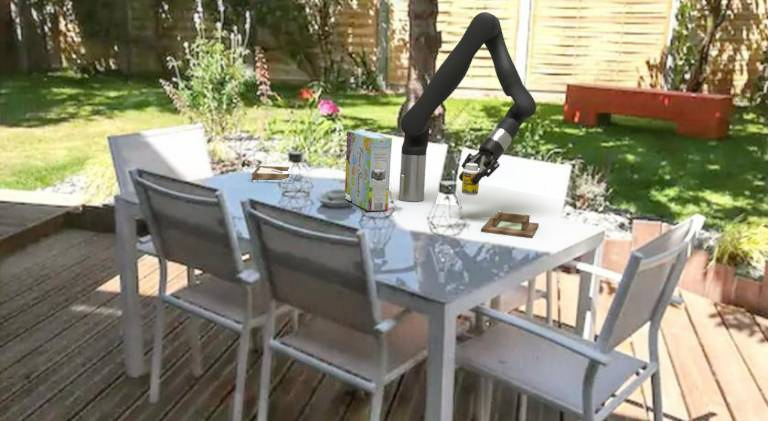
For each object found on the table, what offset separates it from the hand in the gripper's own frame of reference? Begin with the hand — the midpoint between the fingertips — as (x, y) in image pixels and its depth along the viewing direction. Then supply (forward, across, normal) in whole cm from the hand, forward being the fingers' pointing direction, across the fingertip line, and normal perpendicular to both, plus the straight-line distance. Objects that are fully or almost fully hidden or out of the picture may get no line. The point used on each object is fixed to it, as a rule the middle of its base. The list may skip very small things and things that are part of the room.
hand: (466, 181), depth 238 cm
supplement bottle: (+2, 0, +5) cm, 5 cm away
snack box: (+23, -32, -3) cm, 39 cm away
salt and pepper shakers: (+30, -88, -9) cm, 94 cm away
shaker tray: (+28, -88, -7) cm, 93 cm away
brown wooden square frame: (+6, +17, +12) cm, 22 cm away
